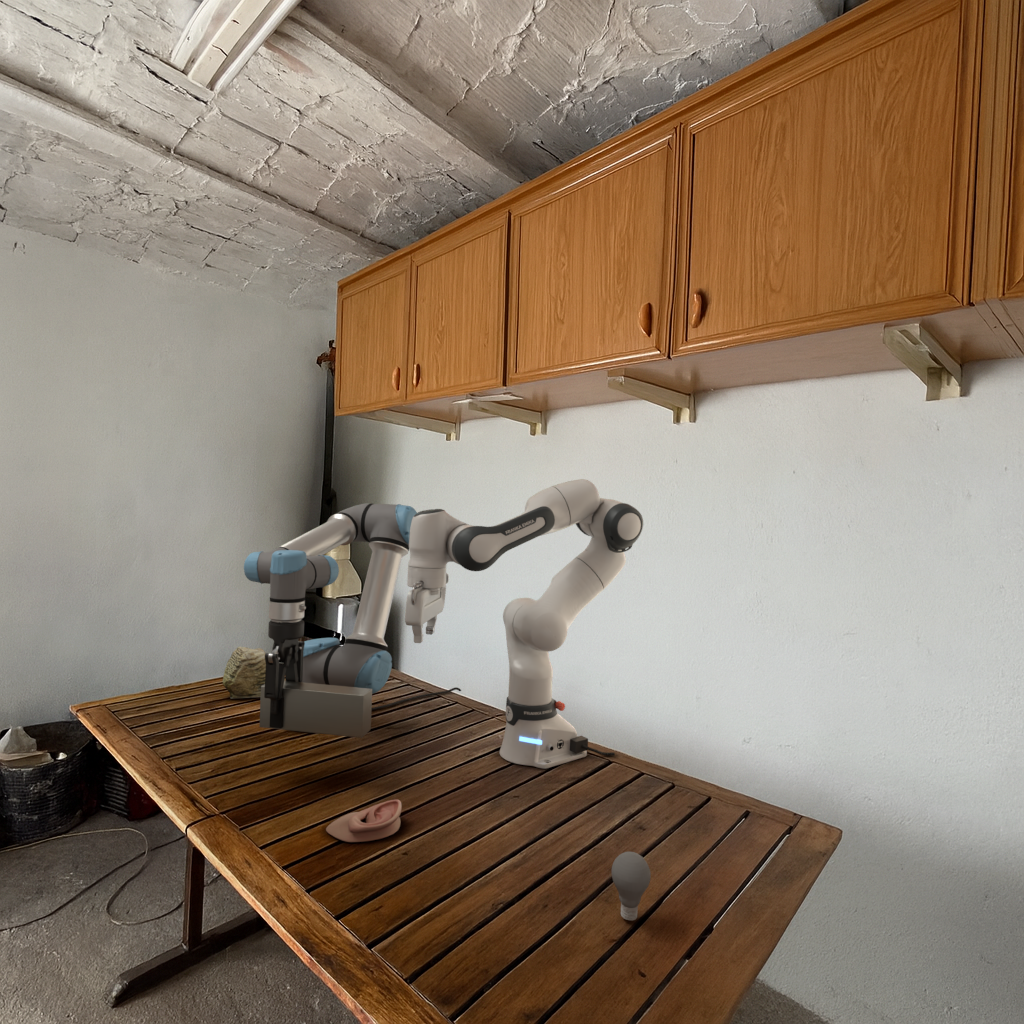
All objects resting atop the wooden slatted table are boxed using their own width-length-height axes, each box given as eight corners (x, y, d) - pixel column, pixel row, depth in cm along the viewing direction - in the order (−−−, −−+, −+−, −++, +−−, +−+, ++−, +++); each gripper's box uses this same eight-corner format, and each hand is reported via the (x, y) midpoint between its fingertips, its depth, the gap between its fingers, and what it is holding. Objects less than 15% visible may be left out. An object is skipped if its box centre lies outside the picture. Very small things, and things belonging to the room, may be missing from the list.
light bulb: (605, 905, 101) (608, 843, 101) (642, 905, 102) (645, 843, 102) (614, 931, 95) (617, 865, 95) (653, 930, 96) (656, 865, 96)
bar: (259, 727, 140) (260, 686, 140) (271, 719, 145) (273, 679, 145) (361, 738, 137) (363, 695, 136) (370, 729, 142) (372, 688, 141)
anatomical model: (318, 816, 117) (346, 789, 129) (317, 837, 118) (346, 808, 129) (385, 827, 115) (408, 798, 126) (384, 848, 115) (407, 818, 126)
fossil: (218, 695, 195) (220, 647, 195) (278, 685, 208) (279, 640, 207) (228, 703, 189) (230, 653, 188) (289, 692, 201) (290, 645, 201)
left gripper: (281, 628, 132) (277, 739, 132) (320, 613, 150) (317, 711, 150) (248, 626, 133) (244, 735, 134) (291, 611, 151) (287, 708, 152)
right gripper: (427, 585, 136) (424, 649, 136) (450, 574, 156) (448, 630, 157) (399, 583, 137) (396, 647, 137) (425, 573, 157) (423, 628, 157)
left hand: (282, 722), depth 142 cm, fingers closed on bar, 5 cm apart
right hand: (424, 638), depth 147 cm, fingers open, 8 cm apart
